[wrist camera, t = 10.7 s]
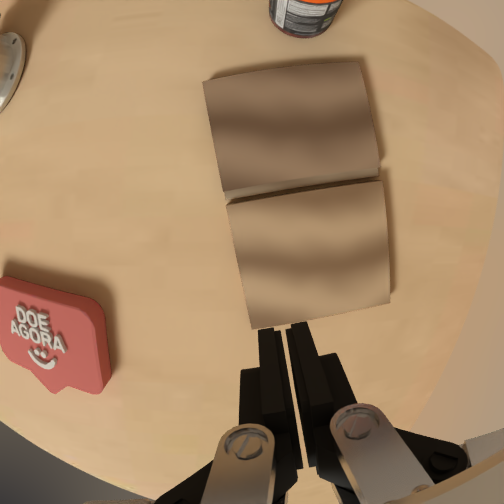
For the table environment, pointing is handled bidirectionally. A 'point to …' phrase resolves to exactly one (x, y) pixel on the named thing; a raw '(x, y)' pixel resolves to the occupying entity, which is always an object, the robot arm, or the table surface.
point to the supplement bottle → (303, 16)
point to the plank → (312, 252)
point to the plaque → (54, 335)
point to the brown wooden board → (291, 128)
